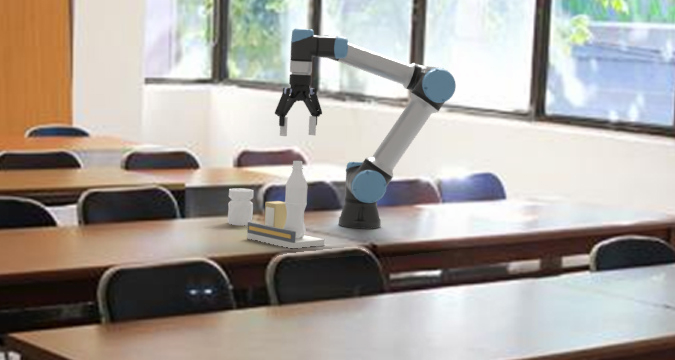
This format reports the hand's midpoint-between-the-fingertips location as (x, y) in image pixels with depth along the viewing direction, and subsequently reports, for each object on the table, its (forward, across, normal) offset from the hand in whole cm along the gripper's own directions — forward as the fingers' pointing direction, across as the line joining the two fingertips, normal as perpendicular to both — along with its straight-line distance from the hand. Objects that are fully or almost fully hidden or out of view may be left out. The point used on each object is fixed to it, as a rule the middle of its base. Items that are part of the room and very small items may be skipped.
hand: (297, 135), depth 444 cm
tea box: (+31, +19, +12) cm, 38 cm away
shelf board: (+33, +21, +19) cm, 43 cm away
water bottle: (+31, +21, +23) cm, 44 cm away
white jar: (+33, +9, -18) cm, 39 cm away
